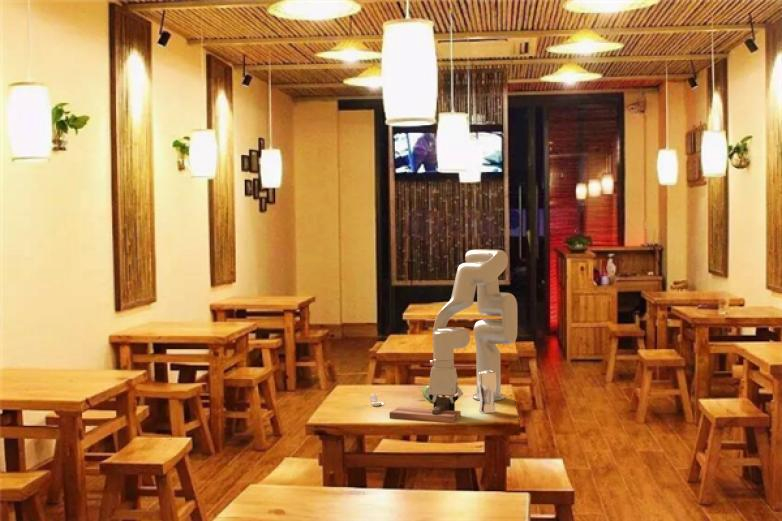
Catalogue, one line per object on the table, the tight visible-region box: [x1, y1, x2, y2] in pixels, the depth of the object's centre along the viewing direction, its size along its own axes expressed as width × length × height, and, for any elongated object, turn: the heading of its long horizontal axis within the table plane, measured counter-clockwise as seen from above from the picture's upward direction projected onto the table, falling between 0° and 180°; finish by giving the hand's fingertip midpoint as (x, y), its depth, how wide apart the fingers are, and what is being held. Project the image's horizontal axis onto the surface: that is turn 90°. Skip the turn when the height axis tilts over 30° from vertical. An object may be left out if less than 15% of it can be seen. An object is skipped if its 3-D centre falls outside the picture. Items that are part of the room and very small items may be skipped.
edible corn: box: [421, 384, 434, 404], centre depth 388 cm, size 5×20×5 cm, turn 7°
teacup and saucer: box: [369, 393, 385, 407], centre depth 380 cm, size 9×8×4 cm
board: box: [389, 406, 462, 423], centre depth 355 cm, size 10×24×2 cm, turn 69°
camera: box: [432, 395, 450, 415], centre depth 355 cm, size 12×5×7 cm, turn 159°
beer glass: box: [478, 370, 496, 414], centre depth 363 cm, size 7×7×15 cm
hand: (444, 412), depth 360 cm, fingers closed on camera, 5 cm apart
